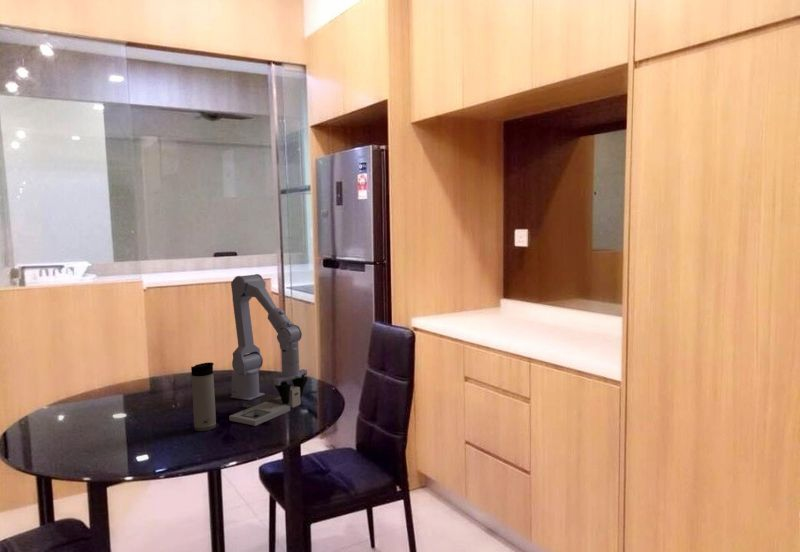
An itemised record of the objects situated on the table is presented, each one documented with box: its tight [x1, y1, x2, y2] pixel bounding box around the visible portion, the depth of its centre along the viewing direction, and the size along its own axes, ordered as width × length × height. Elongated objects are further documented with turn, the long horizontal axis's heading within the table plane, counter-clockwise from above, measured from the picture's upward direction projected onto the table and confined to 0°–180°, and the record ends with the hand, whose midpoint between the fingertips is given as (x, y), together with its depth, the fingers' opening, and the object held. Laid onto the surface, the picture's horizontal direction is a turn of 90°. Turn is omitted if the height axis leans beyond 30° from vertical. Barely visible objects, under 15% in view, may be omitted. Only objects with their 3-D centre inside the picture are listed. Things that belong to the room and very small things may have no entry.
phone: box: [242, 394, 279, 409], centre depth 192 cm, size 6×12×1 cm, turn 150°
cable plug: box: [272, 395, 283, 405], centre depth 190 cm, size 10×2×2 cm, turn 150°
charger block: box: [283, 385, 301, 408], centre depth 189 cm, size 4×4×6 cm
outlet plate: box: [228, 402, 291, 427], centre depth 179 cm, size 11×16×2 cm
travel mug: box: [190, 362, 217, 432], centre depth 168 cm, size 6×7×20 cm
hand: (292, 400), depth 189 cm, fingers open, 6 cm apart
